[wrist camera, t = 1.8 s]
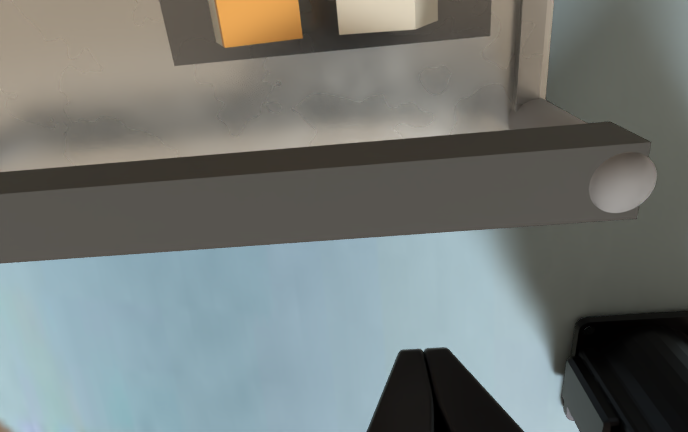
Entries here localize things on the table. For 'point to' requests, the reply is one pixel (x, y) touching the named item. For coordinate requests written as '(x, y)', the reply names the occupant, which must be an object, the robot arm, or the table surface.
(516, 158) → the gray bar rack
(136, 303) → the table surface
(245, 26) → the paddle
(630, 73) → the table surface
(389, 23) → the paddle on
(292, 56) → the panel
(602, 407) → the robot arm
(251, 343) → the table surface
